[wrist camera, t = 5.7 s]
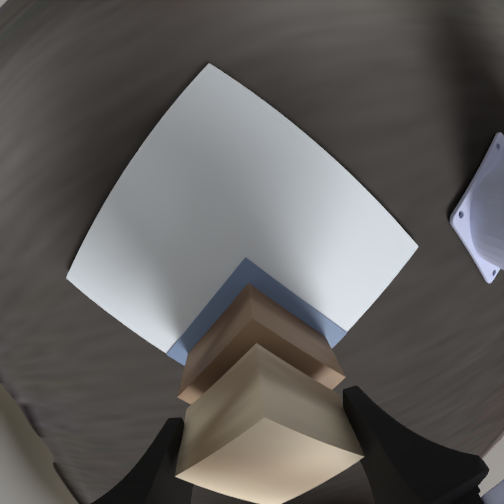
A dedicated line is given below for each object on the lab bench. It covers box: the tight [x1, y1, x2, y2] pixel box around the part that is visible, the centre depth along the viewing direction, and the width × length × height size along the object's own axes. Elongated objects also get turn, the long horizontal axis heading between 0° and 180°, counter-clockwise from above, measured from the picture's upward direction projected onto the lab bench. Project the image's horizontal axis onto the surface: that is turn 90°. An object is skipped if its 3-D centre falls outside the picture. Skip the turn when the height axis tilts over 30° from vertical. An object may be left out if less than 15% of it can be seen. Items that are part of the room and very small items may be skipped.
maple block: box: [175, 343, 365, 504], centre depth 10 cm, size 5×5×4 cm
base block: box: [178, 283, 345, 405], centre depth 15 cm, size 6×6×4 cm
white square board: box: [66, 63, 418, 366], centre depth 16 cm, size 15×16×1 cm
